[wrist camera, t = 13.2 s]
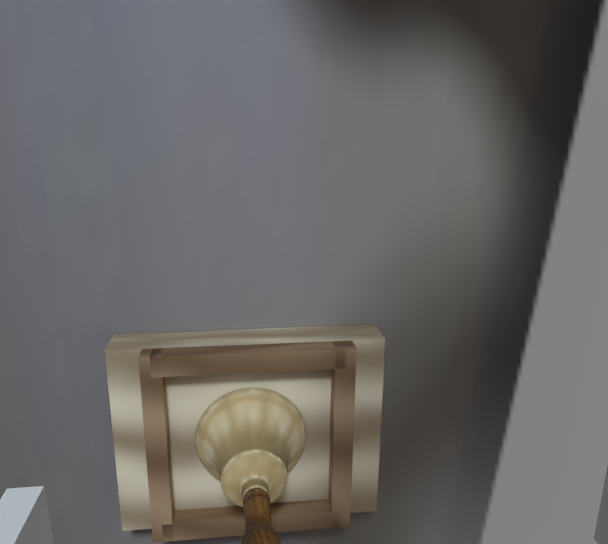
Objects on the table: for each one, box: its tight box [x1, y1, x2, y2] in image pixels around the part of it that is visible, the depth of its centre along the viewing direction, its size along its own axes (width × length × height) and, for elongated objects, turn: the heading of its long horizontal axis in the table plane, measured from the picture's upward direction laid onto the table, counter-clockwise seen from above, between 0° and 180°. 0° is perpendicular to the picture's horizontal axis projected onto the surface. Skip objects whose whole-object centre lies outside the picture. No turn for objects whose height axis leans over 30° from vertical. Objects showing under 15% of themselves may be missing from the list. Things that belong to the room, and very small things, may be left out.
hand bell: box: [195, 388, 306, 544], centre depth 34 cm, size 8×8×16 cm
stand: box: [105, 325, 386, 543], centre depth 42 cm, size 15×20×4 cm
